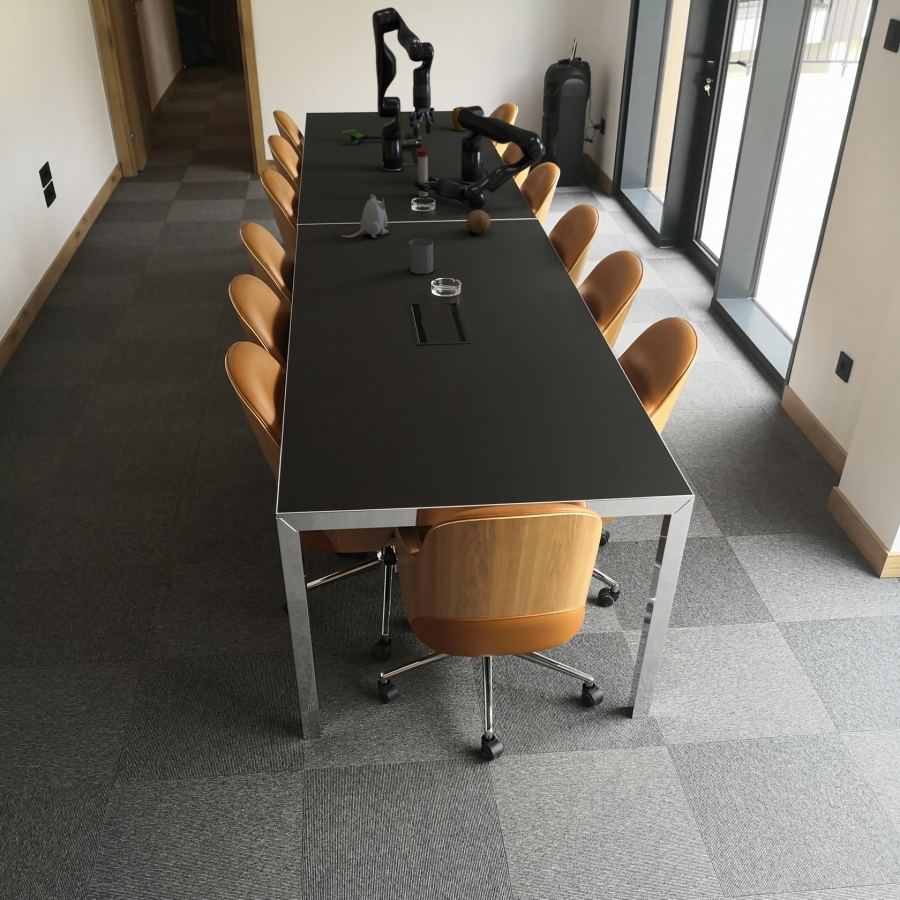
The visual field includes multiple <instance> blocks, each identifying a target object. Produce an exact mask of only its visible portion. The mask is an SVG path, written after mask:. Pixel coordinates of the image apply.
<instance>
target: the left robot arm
mask: <svg viewBox="0 0 900 900" xmlns="http://www.w3.org/2000/svg"><path fill="white" fill-rule="evenodd" d="M371 22H372V23H371V24H372V30H373V39H374V47H375V48H374V49H375V72H376V85H377V86H376V87H377V90H376V91H377V97H376V99H377V101H376V103H377V104H376V105H377V106H376V107H377V115H378V117H379V118H381V119H386V118H387V119H392V120H391V121H390V122H388V123H386V124H384V125H383V124H382V126H381V137H382V140H381V151H382V152H381V153H382V161H381V164H382V170H383V171H385V172H400V171H402V170H403V165H404V164H403V162H404V161H405V158H404V157H403V148H402V129H401V128H402V126H401V124H402V123H401V112H402V110H401V109H402V103H401V99H400V97H399V96H385V95H386V93H387V90H388V89H389V87H390V86H391V84H392V83H393V81H394V80H395V78H396V77H397V74H398V73H397V72H398V71H397V67H398V66H397V57H396V55H395V54H394V52H393V51H392V50H391V48H390V47H389V46H388V44H387V43H386V42H385V34H388V33H391V32H394V31H397V33H396V39H397V41H398V43H399V45H400V46H401V47H402V48H403V49H404V50H405V51H406V54H407V56H408V59H409V60H410V61H411V62H414V63H420V62H421V64H420V65H419V66H417V67H415V68H414V69H413V70H412V71H413V72H412V107H413V108H414V111H413V112H412V111H409V113H408V114H409V115H408V117H409V120H408V121H409V128H412V129H413V137H414V138H419V137H420V124H422V122H423V121H424V123H425V134H427V135H430V134H431V133H432V125H433V123H435V121H436V120H435V119H436V117H435V107H431V106H432V94H431V93H432V92H431V91H432V90H431V70H432V66H433V60H434V57H435V49H434V48H435V47H434V46H433V44H432V43H431V42H429V41H424V42H421V39H420V38H419V36H418V35H416V33H414V32H413V31H412V30H411V29H410V28H409V27H408V25H407V24H406V22H405V20H404V19H403V17H402V15H401V14H400V13H399V11H398V10H397V9H396V8H394V7H393V6H389V7H386V8H382V9H377V10H375V11H374V12H372V17H371Z"/></svg>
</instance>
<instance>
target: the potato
mask: <svg viewBox="0 0 900 900" xmlns="http://www.w3.org/2000/svg"><path fill="white" fill-rule="evenodd" d="M465 223H466V227H467V228H468V229H469V231H471V232H472V233H475V234H484V233H485V232H486V231H488V230H489V228H490V225H491V223H492V221H491V217H490V215H489V214H488V213H487V212H485V211H484V210H482V209H473V211H471V212H470V213H469V214H468V216H467V219H466V222H465Z"/></svg>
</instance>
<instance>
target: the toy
mask: <svg viewBox="0 0 900 900" xmlns="http://www.w3.org/2000/svg"><path fill="white" fill-rule="evenodd" d="M359 227H360V229H359V230H358V231H357V232H355V233H353V234H350V235H341V237H342V238H355V237H357V236H359V235H365V236H366V235H367V234H368V235H371V238H374V239H377V238H378V236H377V235H381V236H382V235H383V236H384V235H387V234H389V233H390V231H389V230H388V229H386V228H387V227H388V215H387V211H386V207H385V200H384V197H382V200H377V197H376V195H375V194H373V193H371V194H370V198H369V199H368V200H367V201H366V202H365V205H364V208H363V212H362V215H361V219H360V221H359Z"/></svg>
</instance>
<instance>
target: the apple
mask: <svg viewBox="0 0 900 900" xmlns="http://www.w3.org/2000/svg"><path fill="white" fill-rule="evenodd" d="M464 107H465V106H462V105H461V106H457V107H454V108H452V111H451V121H452V125H453V128H454V129H455V131H457V132H463V131H467V129H464V128H462V127H461V126H460V124H459V123H458V120H457V114H458V112H459V111H460V110H461V109H462V108H464Z"/></svg>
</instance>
